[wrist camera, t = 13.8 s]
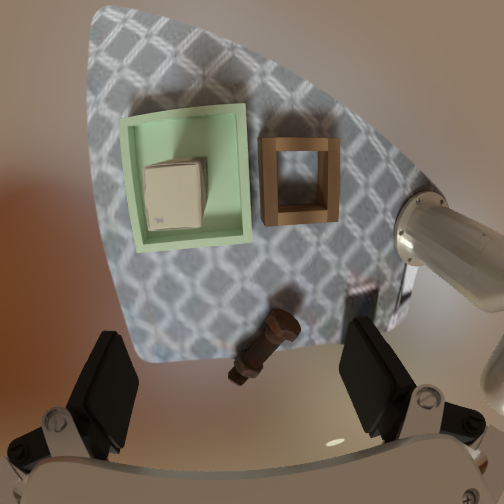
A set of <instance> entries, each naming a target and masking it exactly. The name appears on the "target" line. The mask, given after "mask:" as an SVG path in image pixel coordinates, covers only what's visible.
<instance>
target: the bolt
mask: <svg viewBox="0 0 504 504" xmlns="http://www.w3.org/2000/svg"><path fill="white" fill-rule="evenodd" d="M265 322H266V323H267V324H268V326H267V327H266V329H265V331H264V332H263V333H262V334H261V336H260V337H259V338H258V339H257V340H256V341H255V343H254V344H253V345H252V346H251V347H250V349H249V350H248V351H242V352H241V353H240V355H239V356H238V357H237V358H236V359H235V361H234V365H235V366H234V367H233V368H232V369H231V370H230V371H229V373H228V379H229V380H230V381H231V382H233V383H235V384H236V385H239V386H241V385H243V384H244V382H246V380H247V379H248V378H255V377H256V376H257V375H258V374H259V373H260V372H261V370H262V369H263V363H264V362H265V361H266V360H267V358H268V357H269V356H270V355H271V354H272V353H273V352H274V351H275V350H276V349H277V348H278V347H279V346H280V344H281V343H283V342H284V341H285V340H289V341H291V342H293V341H294V340H295V339H296V338H297V336H298V335H299V333H300V331H301V327H300V325H299V322H298V321H297V320H296V319H295V318H294V317H293V316H292V315H291V314H289V313H288V312H286V311H284V310H281V309H275V308H274V310H273V311H272V312H271V313H270V315H269V316H268V317H267V318H266V320H265Z"/></svg>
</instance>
